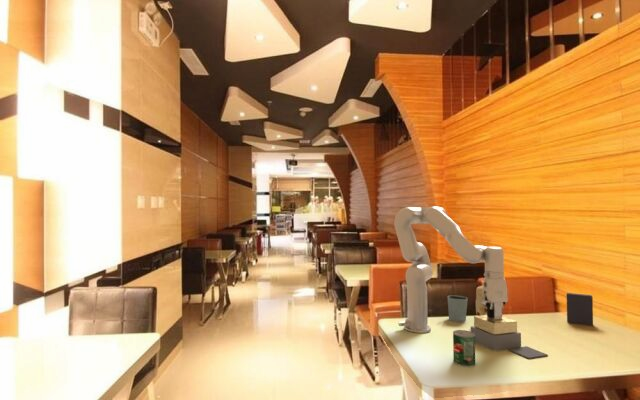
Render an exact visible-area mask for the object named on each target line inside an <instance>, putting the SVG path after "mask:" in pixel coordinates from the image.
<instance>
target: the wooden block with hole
mask: <svg viewBox="0 0 640 400" xmlns="http://www.w3.org/2000/svg"><path fill="white" fill-rule="evenodd" d="M473 326H475V327H477V328H479V329H482V330H484V331H487V332H489V333H492V334H494V335H495V334H504V333H512V332H518V321H517V320H514V319H511V318H509V317H508V316H507V317H506V316H503V315H502V320H497V321H494V320H491V319H488V317H487V315H481V316H477V315H475V316H473Z"/></svg>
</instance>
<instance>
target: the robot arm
mask: <svg viewBox="0 0 640 400" xmlns="http://www.w3.org/2000/svg"><path fill="white" fill-rule="evenodd" d="M413 224H415V225H418V224H419V225H420V224H425V225H427V224H429V225H430V226H431V227H432V228H433V229H434V230H436V231H437V233H439V234H440V235H441V236H442V237H443V238H444V240H445V241H446V242H447V243H448V244H449V245H450V247H451V248H452V250H453V251H454V252H456V253H457V255H459V256H460V257H461V258H462V259H463V260H464V261H465V262H466V263H469V264H477V263H481V262H484V273H483V276H484V278H483V281H482V286H483V293H482V295H483V298H482V300H481V303H483V304H484V305H485V306H486V308H487V317H489V318H492V319H493V318H494V309H492V308H493V303H496V302H502V309H504V306H505V305H506V303H507V302H509V296H508V286H507V285H508V284H507V280H506V278H505V275H504V274H505V268H504V267H505V266H504V264H505V263H504V259H505V258H504V255H505V254H504V249H503V248H502V247H499V246H484V245H479V244H478V245H477V244H476V245H474V244H473V243H471V241H470V240H468V238H466V237H465V236H464V235H463V233H462V231H461V228H460V226H459V224H457V223H456V222H455V221H453V219H452V218H451V217H449V216H448V214H447V211H446V210H445V208H443V207H441V206H428V207H427V206H424V207H421V206H420V207H419V206H418V207H417V206H406V207H403V208H401V209H400V210H398V212H397V213H396V215H395V217H394V222H393V225H394V231H395V234H396V236H397V239H398V240H397V241H398V245H399V249H400V251H401V255H402V258H403V259H404V260H405V261H406V262H408V263H411V265H410V266H409V267H408V268H407V269H406V271H405V281H406V291H407V293H406V295H407V297H406V298H407V302H406V303H407V304H406V305H407V306H406V307H407V308H406V309H407V311H406V312H407V313H406V314H407V318H405V320H404V321H399V322H398V326H399V327H404V328H403V329H404V330H405V331H407V332H411V333H416V334H418V333H419V334H425V333H429V332H431V330H432V327H431V326H430V325H428V288H427V283H426V282H427V281H428V280H430V279H431V278H432V276H433V274H434V272H433V270H434V269H433V266H432V262H431V259H430V256H429V253H428V250H427V248H426V246H425V245H424V244H423V243H422V242H420V241H419V242H418V241H417V237H416V234H415V231H414V229H413V227H412V225H413ZM489 303H490V305H489Z"/></svg>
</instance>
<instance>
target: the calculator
mask: <svg viewBox="0 0 640 400" xmlns="http://www.w3.org/2000/svg"><path fill="white" fill-rule="evenodd" d="M593 302H594V301H593V295H591V294H583V293H574V292H573V293H571V292H566V321H567V323H568V324H574V325H575V324H576V325H584V326H591V327H593V326H594V310H593V309H594V307H593V306H594V305H593V304H594V303H593Z"/></svg>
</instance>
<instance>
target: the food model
mask: <svg viewBox="0 0 640 400" xmlns="http://www.w3.org/2000/svg"><path fill="white" fill-rule="evenodd" d="M482 293H483V285H480V286H479V285H478V287H476V291H475V313H476V315H475V316H481V315H487V308H486V306H485V305H484V304H483V303H481V300H482V298H483V295H482Z"/></svg>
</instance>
